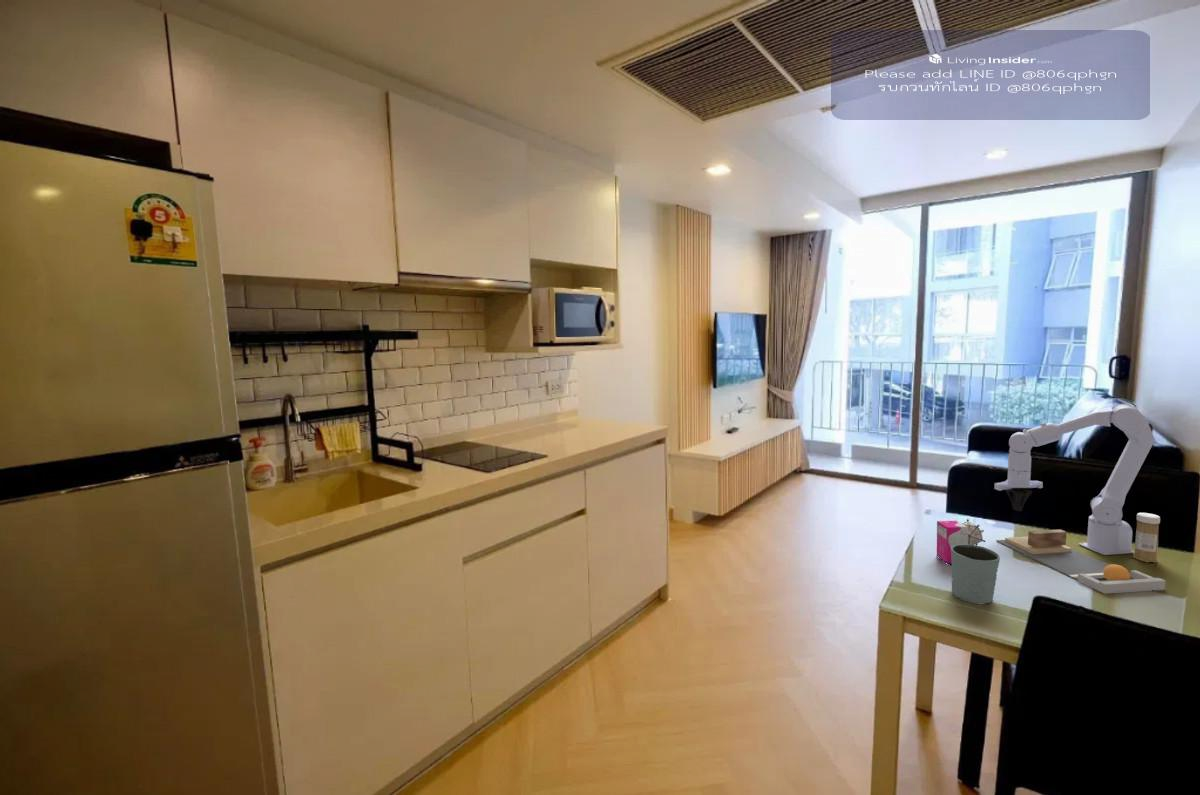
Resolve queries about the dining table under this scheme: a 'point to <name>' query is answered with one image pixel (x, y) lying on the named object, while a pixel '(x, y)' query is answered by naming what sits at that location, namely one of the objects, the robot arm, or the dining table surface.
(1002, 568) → the dining table surface
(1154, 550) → the sprinkles bottle
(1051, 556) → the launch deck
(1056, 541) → the pusher bar
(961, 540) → the supplement box
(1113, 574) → the ball
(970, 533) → the game die
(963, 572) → the grey-green plant pot
